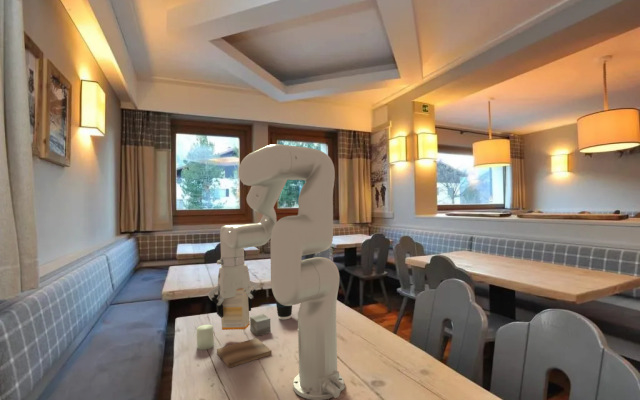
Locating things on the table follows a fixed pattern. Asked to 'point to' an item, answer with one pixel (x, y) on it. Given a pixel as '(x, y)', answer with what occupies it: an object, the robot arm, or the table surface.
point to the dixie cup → (283, 311)
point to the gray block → (260, 324)
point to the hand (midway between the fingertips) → (234, 313)
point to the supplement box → (236, 311)
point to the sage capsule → (205, 337)
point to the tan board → (243, 352)
